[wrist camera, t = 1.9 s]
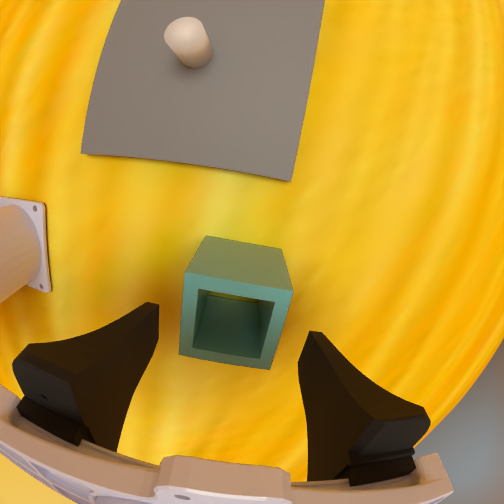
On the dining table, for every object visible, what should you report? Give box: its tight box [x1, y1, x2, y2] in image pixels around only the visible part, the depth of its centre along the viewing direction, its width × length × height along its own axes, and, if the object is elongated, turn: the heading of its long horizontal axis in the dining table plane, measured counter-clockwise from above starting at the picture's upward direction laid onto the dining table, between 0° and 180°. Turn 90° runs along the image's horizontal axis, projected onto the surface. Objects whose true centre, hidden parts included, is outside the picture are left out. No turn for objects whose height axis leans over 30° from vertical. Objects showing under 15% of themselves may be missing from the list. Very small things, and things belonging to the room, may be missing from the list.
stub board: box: [81, 0, 325, 181], centre depth 12 cm, size 14×14×4 cm
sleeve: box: [179, 236, 293, 370], centre depth 16 cm, size 5×5×6 cm
